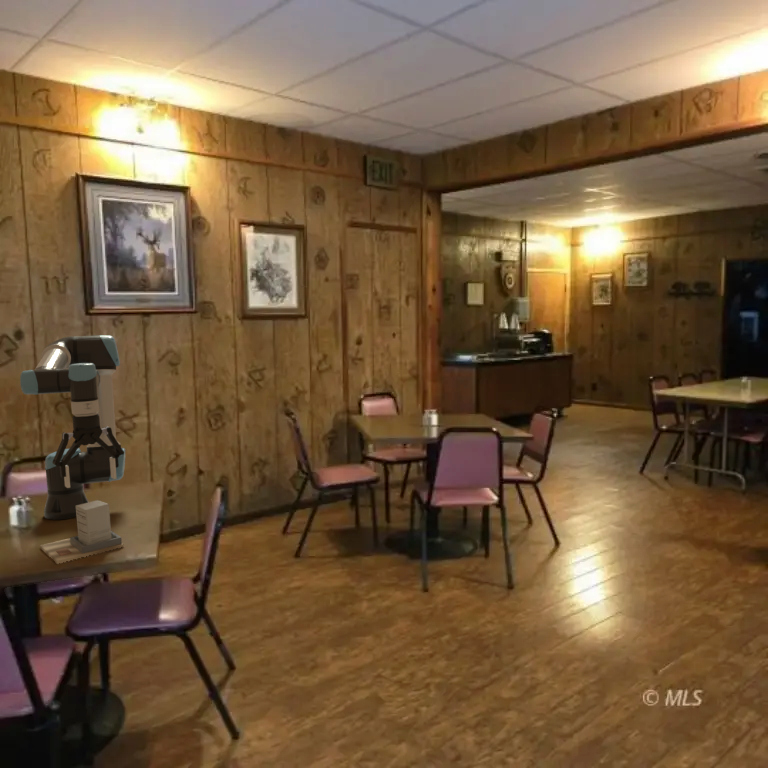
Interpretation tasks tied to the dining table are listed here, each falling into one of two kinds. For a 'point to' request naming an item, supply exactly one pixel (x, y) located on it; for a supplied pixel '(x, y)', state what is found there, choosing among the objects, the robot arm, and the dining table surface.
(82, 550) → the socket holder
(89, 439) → the robot arm
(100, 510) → the supplement box
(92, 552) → the board
